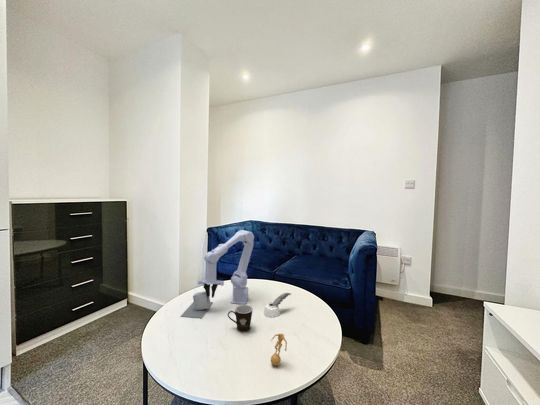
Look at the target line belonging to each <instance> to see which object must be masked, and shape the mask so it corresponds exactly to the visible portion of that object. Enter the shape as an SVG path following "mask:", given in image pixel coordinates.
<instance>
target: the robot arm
mask: <svg viewBox="0 0 540 405" xmlns="http://www.w3.org/2000/svg"><path fill="white" fill-rule="evenodd" d="M254 239H255V235H254V234H253V232H252V231H248V230H244V229H239V230H238V231H236V233H235V234H234V235H233V236H231V238H230V239H229V240H227V241H226V242H225V243H220V244H218V245H217V246H216V247H214V248H213V249H211V251H207V252H206V253H205V256H204V257H203V258H204V261H205V279H203V278H202V279H198V280H197V284H198V285H203V287H202V288H203V289H204V290H205V291H206V293H207V297H209V298H210V295H211V298H213V299H214V297H215V293H216V290H217V288H218V286H222V287H223V286H224V285H225V281H224V280H220V279H219V280H218V279H217V263H218V262H219V259H220V258H221V257H222V256H224V255H225V254H227V253H228V249H229V248H231V247H233V245H235V244H237V243H238V242H242V244H243V250H242V252H241V256H240V258H239V259H240V260H239V264H238V267H237V269H236V270H235V271H234V272H233V274H232V276H231V278H230V282H231V284H232V299H231V301H230V303H231V304H239V305H240V304H241V305H247V302H248V300H249V287H247V284H248V275H247V270H248V265H249V262H250V258H251V255H252V252H253V248H254ZM205 291H204V292H205Z"/></svg>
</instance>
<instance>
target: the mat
mask: <svg viewBox="0 0 540 405" xmlns="http://www.w3.org/2000/svg"><path fill="white" fill-rule="evenodd" d="M210 303H211V306H212V305H213V304H214V302H213V301H210ZM211 306H210V307H209V309H210V308H211ZM209 309H202V310H195V305H194V301H193V302H192V303H190V305H189V306H188V307H187V308H186V309H185V310H184V311H183V312H182V314H181V315H180V317H181V318H191V319H203V318H204V316H205V315H206V314H207V312H208V311H209Z"/></svg>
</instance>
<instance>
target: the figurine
mask: <svg viewBox="0 0 540 405" xmlns="http://www.w3.org/2000/svg"><path fill="white" fill-rule="evenodd" d="M276 337H277V340H276V343H275V346H274V350H275V353H272V355H271V357H270V363H271V364H272V365H273V366H274V367H275V366H279V365H280V364H281V361H282V360H281V355H280V353H281V349H282V346H283V343H282V341H284V342H285V348H284V351H287V344H288V341H287V340H286V338H285V334H284V333H282V332H281V333H280V332H279V333H278V334H275V335H274V336H273V337H272V338H271V340H270V341H271V342H272V341H273V339H275V338H276ZM277 352H278V353H277Z"/></svg>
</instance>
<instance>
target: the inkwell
mask: <svg viewBox="0 0 540 405" xmlns="http://www.w3.org/2000/svg"><path fill="white" fill-rule="evenodd" d="M291 295H292V293H290V292H284V293H282V294H280V295H279V296H277V297H276V299H274V301H273V302H270V303H269V302H268V303H267V304H266V305H265V307H264V311H263V314H264V315H265V317H268V318H277V317H279V316H280V315H281V312H280V308H279V305H280V304H281V303H282V302H283V301H284V300H286V299H287V297H288V296H291Z"/></svg>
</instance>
